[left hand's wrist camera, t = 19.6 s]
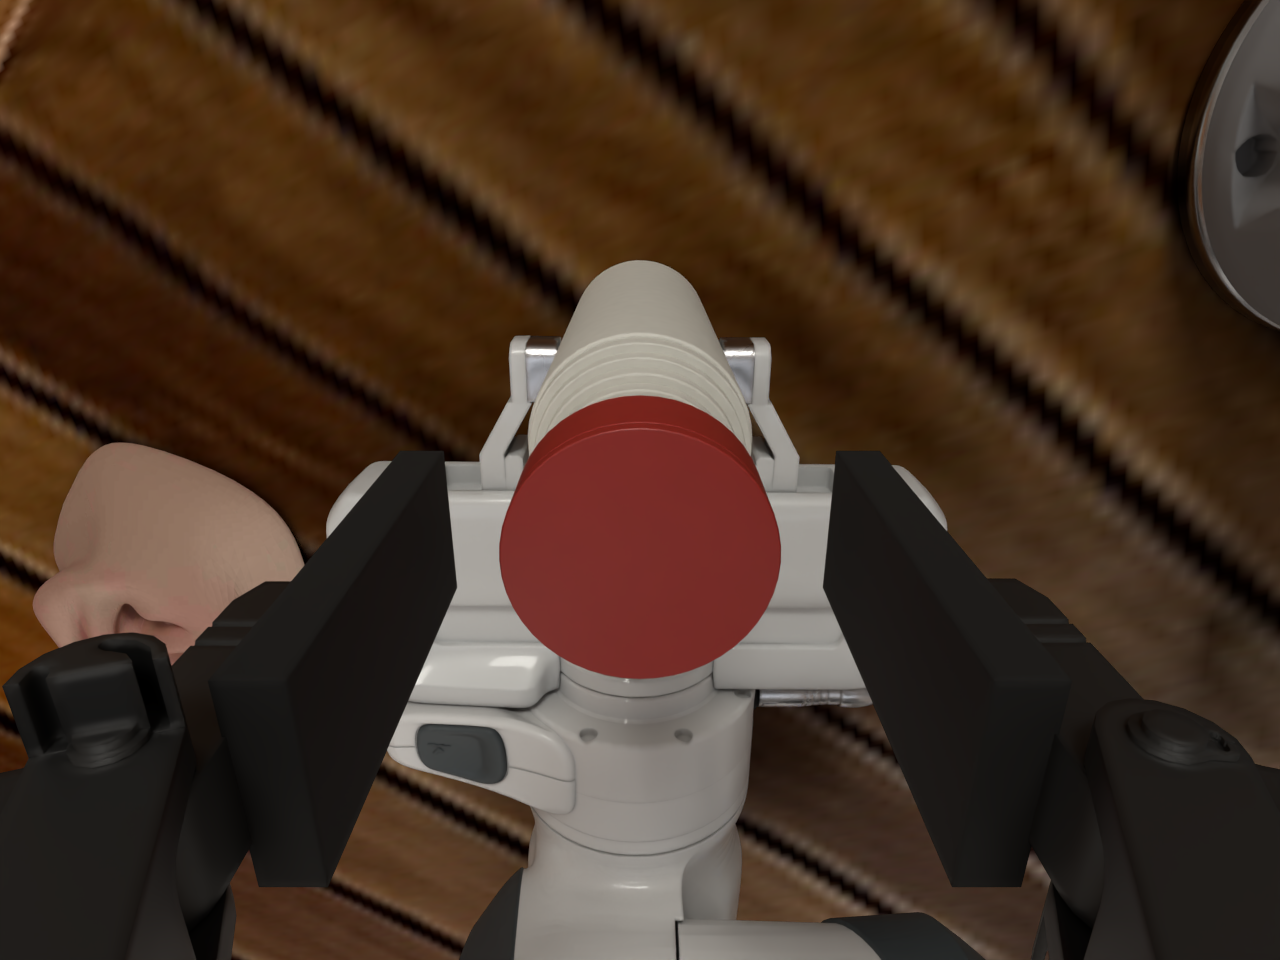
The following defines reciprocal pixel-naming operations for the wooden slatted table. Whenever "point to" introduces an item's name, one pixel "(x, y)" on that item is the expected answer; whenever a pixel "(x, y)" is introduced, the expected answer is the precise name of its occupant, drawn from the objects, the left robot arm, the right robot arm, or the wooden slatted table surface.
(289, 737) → the left robot arm
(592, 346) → the bottle
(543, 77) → the wooden slatted table surface
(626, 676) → the cap
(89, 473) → the anatomical model
